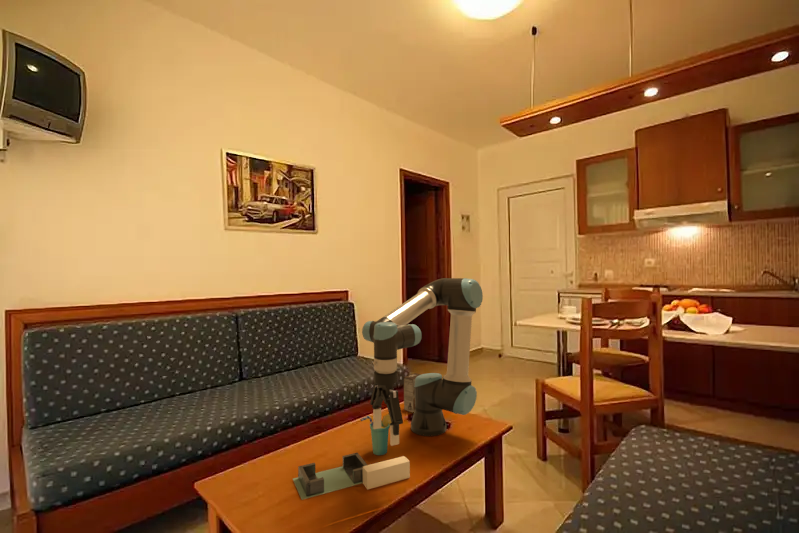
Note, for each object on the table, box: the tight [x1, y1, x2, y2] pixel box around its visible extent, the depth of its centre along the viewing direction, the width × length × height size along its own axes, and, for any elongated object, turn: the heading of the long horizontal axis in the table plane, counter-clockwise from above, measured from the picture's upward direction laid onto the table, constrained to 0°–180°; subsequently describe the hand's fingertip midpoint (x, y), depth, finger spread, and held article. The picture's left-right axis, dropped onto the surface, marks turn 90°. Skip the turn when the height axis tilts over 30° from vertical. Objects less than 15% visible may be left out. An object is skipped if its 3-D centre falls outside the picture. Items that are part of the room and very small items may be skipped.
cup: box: [360, 412, 392, 456], centre depth 147 cm, size 14×8×15 cm, turn 123°
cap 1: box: [297, 462, 324, 497], centre depth 126 cm, size 5×11×4 cm, turn 27°
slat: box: [362, 455, 411, 491], centre depth 128 cm, size 15×4×6 cm, turn 117°
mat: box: [292, 465, 363, 501], centre depth 129 cm, size 24×13×1 cm, turn 117°
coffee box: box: [403, 372, 422, 413], centre depth 192 cm, size 9×6×16 cm
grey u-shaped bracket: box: [342, 452, 368, 484], centre depth 133 cm, size 5×11×4 cm, turn 27°
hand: (385, 436), depth 128 cm, fingers open, 13 cm apart
